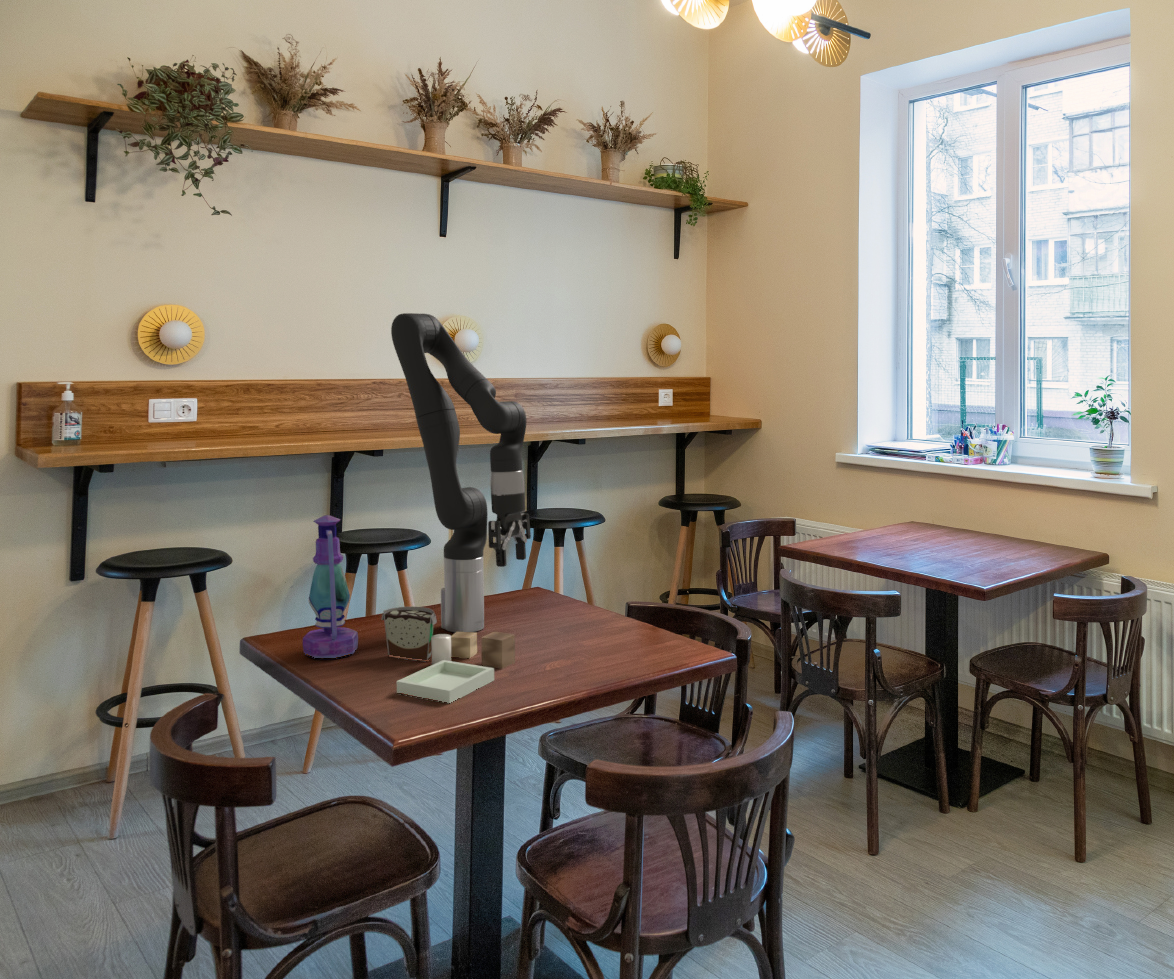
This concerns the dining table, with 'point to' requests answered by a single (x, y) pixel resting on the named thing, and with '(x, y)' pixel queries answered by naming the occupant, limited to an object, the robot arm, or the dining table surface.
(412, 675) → the tray
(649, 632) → the dining table surface
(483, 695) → the dining table surface
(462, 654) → the oak cube
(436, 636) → the ceramic shaker
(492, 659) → the walnut block
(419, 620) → the food container
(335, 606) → the lantern
